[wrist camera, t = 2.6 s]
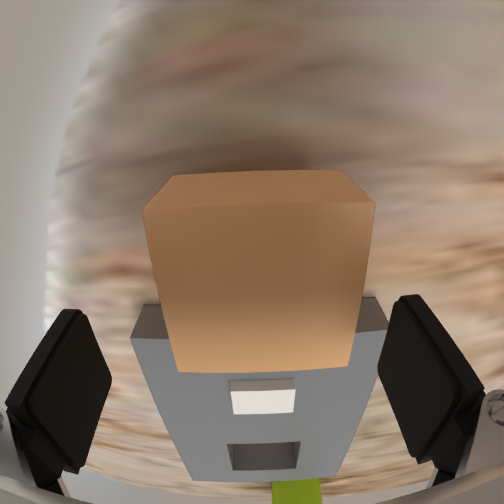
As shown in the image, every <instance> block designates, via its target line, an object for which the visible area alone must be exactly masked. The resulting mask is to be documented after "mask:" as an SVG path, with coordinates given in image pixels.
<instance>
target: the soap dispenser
mask: <svg viewBox="0 0 504 504" xmlns="http://www.w3.org/2000/svg"><path fill="white" fill-rule="evenodd" d="M271 485H272V504H322V497H321V489H320V481H319V478H312V479H302V480H290V481H272V484H271Z"/></svg>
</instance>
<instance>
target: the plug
mask: <svg viewBox="0 0 504 504" xmlns="http://www.w3.org/2000/svg"><path fill="white" fill-rule="evenodd" d="M374 210H375V202H374V201H373V200H372V199H371V198H370V197H369V196H368V195H367V194H366V193H365V192H364V191H362V190H361V189H360V188H359V187H358V186H357V185H356V184H355V183H354V182H353V181H352V180H351V179H349V178H348V177H347V176H346V175H345V174H344V173H343V172H342V171H341V170H267V171H238V172H217V173H201V174H186V175H173V176H172V177H171V178H170V179H169V181H168V182H167V183H166V184H165V185H164V186H163V187H162V188H161V189H160V190H159V191H158V193H157V194H156V195H155V196H154V197H153V198H152V199H151V200H150V202H149V203H148V204H147V205H146V206H145V207H144V208H143V209H142V213H143V219H144V225H145V230H146V236H147V241H148V247H149V252H150V257H151V262H152V267H153V272H154V276H155V281H156V286H157V290H158V295H159V299H160V303H161V308H162V312H163V316H164V320H165V324H166V328H167V332H168V336H169V340H170V343H171V347H172V351H173V355H174V358H175V362H176V365H177V369H178V372H198V373H250V372H279V371H297V370H312V369H325V368H336V367H346V366H348V362H349V358H350V354H351V349H352V345H353V340H354V335H355V331H356V326H357V321H358V316H359V311H360V305H361V300H362V294H363V289H364V283H365V277H366V270H367V264H368V257H369V250H370V243H371V235H372V227H373V219H374Z"/></svg>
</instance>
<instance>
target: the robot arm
mask: <svg viewBox="0 0 504 504" xmlns="http://www.w3.org/2000/svg"><path fill="white" fill-rule="evenodd" d="M377 371H378V375H379V377H380V380H381V382H382V384H383V387H384V389H385V392H386V394H387V397H388V399H389V402H390V404H391V407H392V409H393V412H394V414H395V417H396V419H397V422H398V424H399V427H400V430H401V432H402V435H403V438H404V440H405V443H406V446H407V448H408V451H409V453H410V455H411V457H415V458H416V460H417V463H418V464H422V463H425V462H428V461H431V460H432V461H433V463H434V466H435V469H434V471H433V474H432V476H431V478H430V481H429V483H428V486H427V488H426V489H425V490H421V491H418V492H415V493H412V494H409V495H405V496H402V497H398V498H395V499H392V500H388V501H384V502H380V503H376V504H504V390H500V389H499V390H493V391H491V392H489V393H488V394H487V395H486V394H485V392H484V391H483V390H484V386H483V384H482V383H481V381H480V380H479V378H478V377H477V375H476V373H475V372H474V370H473V369H472V367H471V366H470V364H469V363H468V361H467V360H466V358H465V357H464V355H463V354H462V352H461V351H460V350H459V348H458V347H457V345H456V344H455V342H454V341H453V340H452V338H451V337H450V335H449V334H448V332H447V331H446V330H445V328H444V327H443V326H442V324H441V323H440V321H439V320H438V319H437V317H436V316H435V315H434V313H433V312H432V311H431V309H430V308H429V307H428V305H427V304H426V303H425V301H424V300H423V299H422V297H421V296H420V295H418V294H414V295H405V296H401V297H400V298H399V300H398V301H396V302H395V303H394V305H393V309H392V313H391V317H390V321H389V325H388V329H387V333H386V336H385V340H384V344H383V347H382V351H381V354H380V358H379V361H378V365H377ZM111 383H112V376H111V373H110V371H109V368H108V366H107V364H106V362H105V359H104V357H103V355H102V352H101V350H100V348H99V345H98V343H97V340H96V338H95V335H94V333H93V330H92V328H91V325H90V322H89V320H88V317H87V316H86V315H85V314H83V313H82V311H81V310H79V309H63V310H62V311H61V312H60V314H59V315H58V317H57V318H56V320H55V321H54V323H53V324H52V325H51V327H50V328H49V330H48V331H47V333H46V335H45V336H44V338H43V339H42V341H41V342H40V344H39V345H38V347H37V349H36V350H35V352H34V353H33V355H32V357H31V358H30V360H29V362H28V363H27V365H26V366H25V368H24V370H23V371H22V373H21V375H20V376H19V378H18V380H17V382H16V383H15V385H14V387H13V389H12V390H11V392H10V394H9V396H8V398H7V399H6V401H5V404H6V406H7V407H8V408H7V410H6V412H5V411H4V410H3V409H2V408H0V504H92V503H88V502H84V501H80V500H77V499H73V498H71V497H70V494H69V492H68V490H67V488H66V486H65V484H64V482H63V479H62V477H61V474H62V471H63V470H64V471H67V472H71V473H74V474H78V473H79V470H80V467H83V466H84V465H85V463H86V459H87V456H88V453H89V449H90V446H91V443H92V440H93V437H94V433H95V430H96V427H97V424H98V421H99V418H100V415H101V412H102V409H103V406H104V404H105V401H106V398H107V395H108V392H109V389H110V387H111Z"/></svg>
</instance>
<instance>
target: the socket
mask: <svg viewBox="0 0 504 504" xmlns="http://www.w3.org/2000/svg"><path fill="white" fill-rule="evenodd" d="M388 325H389V322H388V320H387V318H386V316H385V314H384V312H383V310H382V308H381V306H380V305H379V303H378V301H377V299H376V297H374V298H362V300H361V305H360V311H359V316H358V321H357V326H356V331H355V335H354V340H353V345H352V349H351V354H350V358H349V362H348V366H346V367H336V368H325V369H312V370H297V371H279V372H250V373H198V372H178V369H177V365H176V362H175V358H174V355H173V351H172V347H171V343H170V340H169V336H168V332H167V328H166V324H165V320H164V316H163V312H162V308H161V305H144V306H143V309H142V311H141V313H140V316H139V318H138V320H137V323H136V325H135V327H134V330H133V332H132V334H131V337H130V339H131V342H132V345H133V348H134V351H135V353H136V356H137V359H138V361H139V364H140V367H141V369H142V372H143V374H144V377H145V379H146V382H147V384H148V387H149V389H150V392H151V394H152V396H153V399H154V401H155V404H156V406H157V408H158V410H159V413H160V415H161V417H162V419H163V422H164V424H165V426H166V428H167V430H168V432H169V434H170V437H171V439H172V441H173V443H174V445H175V447H176V449H177V451H178V453H179V455H180V457H181V459H182V461H183V463H184V465H185V467H186V468H187V470H188V472H189V474H190V476H191V478H192V480H196V481H214V482H272V481H290V480H302V479H312V478H321V477H329V476H336V474H337V472H338V470H339V468H340V466H341V464H342V462H343V460H344V458H345V455H346V453H347V451H348V449H349V447H350V444H351V442H352V440H353V438H354V435H355V433H356V430H357V428H358V426H359V423H360V421H361V418H362V416H363V413H364V411H365V408H366V406H367V403H368V400H369V398H370V395H371V392H372V390H373V387H374V384H375V381H376V378H377V376H378V371H377V365H378V361H379V358H380V354H381V351H382V347H383V344H384V340H385V336H386V333H387V329H388ZM282 442H285V443H282ZM258 443H263V444H258Z"/></svg>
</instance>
